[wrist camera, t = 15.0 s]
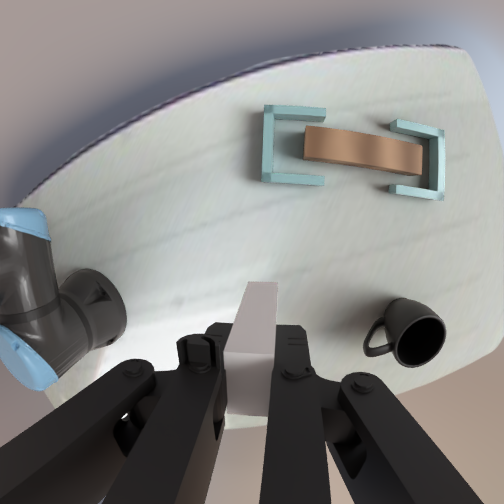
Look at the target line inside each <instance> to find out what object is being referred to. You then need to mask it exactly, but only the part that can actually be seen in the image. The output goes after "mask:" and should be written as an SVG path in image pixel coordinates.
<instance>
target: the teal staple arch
mask: <svg viewBox="0 0 504 504" xmlns="http://www.w3.org/2000/svg"><path fill="white" fill-rule="evenodd" d="M325 117H326V108H317V107H304V106H286V105H264V128H263V154H262V178H261V182H268V183H287V184H303V185H316V186H324V176H315V175H301V174H285V173H273V152H274V124H275V119H288V120H305V121H318V122H324V120H325Z"/></svg>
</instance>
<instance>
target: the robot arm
mask: <svg viewBox="0 0 504 504" xmlns="http://www.w3.org/2000/svg"><path fill="white" fill-rule="evenodd" d="M50 242H51V238H50V237H49V232H48V226H47V219H46V216H45V214H44V213H43V212H42V211H41V210H39V209H36V208H0V359H1V360H2V362H3V363H4V365H5V366H6V367H7V369H8V370H9V371H10V372H11V373H12V375H13V376H14V377H15V378H16V379H17V380H18V381H20V382H21V383H22V384H23V385H25V386H26V387H28V388H29V389H31V390H34V391H43V390H45V389H46V388H48V387H49V386H50V385H52V384H53V383H55V382H57V381H58V379H59V378H60V377H61V376H62V375H63V374H65V373H66V372H67V371H68V370H69V369H70V368H71V367H72V366H73V365H74V364H76V363H77V362H78V361H79V360H80V359H81V358H82V357H84V356H85V355H86V354H87V353H88V352H89V351H91V350H95V349H98V348H102V347H105V346H108V345H111V344H113V343H114V342H115V341H116V340H118V339H119V338H120V337H121V336H122V334H123V333H124V331H125V328H126V323H127V316H126V310H125V306H124V303H123V300H122V298H121V296H120V294H119V292H118V291H117V289H116V288H115V286H114V285H113V284H112V283H111V281H110V280H109V279H108V278H106V277H105V276H104V275H102V274H101V273H99V272H97V271H95V270H91V269H83V270H80V271H78V272H76V273H73V274H72V275H70V276H69V277H68V278H67V279H66V281H65V282H64V283H63V284H62V285H61V287H60V288H59V289H58V285H57V281H56V276H55V270H54V265H53V258H52V251H51V244H50ZM277 292H278V283H276V282H248V284H247V287H246V290H245V292H244V295H243V298H242V301H241V304H240V307H239V309H238V312H237V315H236V318H235V321H234V323H218V322H215V323H214V324H212V325H211V326H209V327H208V328H207V330H206V332H205V334H192V335H187V336H184V337H182V338H180V339H179V340H178V341H177V342H176V343H177V351H178V357H179V366H178V368H177V369H176V370H170V371H154V367H153V365H152V364H151V363H150V362H148V361H146V360H142V359H130V360H126V361H123V362H121V363H119V364H118V365H117V366H115V367H114V368H112V369H111V370H110V371H108V372H107V373H105V374H104V375H103V376H101V377H100V378H99V379H97V380H96V381H94V382H93V383H92V384H90V385H89V386H87V387H86V388H85V389H83V390H82V391H80V392H79V393H78V394H76V395H75V396H73V397H72V398H71V399H69V400H68V401H66V402H65V403H63V404H62V405H61V406H59V407H58V408H56V409H55V410H54V411H52V412H51V413H49V414H48V415H46V416H45V417H44V418H42V419H41V420H39V421H38V422H37V423H35V424H34V425H32V426H31V427H29V428H28V429H27V430H25V431H24V432H22V433H21V434H19V435H18V436H17V437H15V438H14V439H12V440H11V441H10V442H8V443H6V444H5V445H3V446H2V447H0V504H98V503H99V502H100V501H101V500H102V499H103V498H104V497H105V496H106V497H105V499H104V501H103V502H102V504H204V503H205V500H206V496H207V492H208V488H209V484H210V481H211V476H212V473H213V469H214V465H215V461H216V457H217V454H218V450H219V446H220V442H221V438H222V434H223V430H224V426H225V416H224V414H225V410H226V406H227V414H237V415H249V416H266V417H268V423H267V435H266V445H265V455H264V464H263V474H262V483H261V492H260V500H259V504H331V495H330V484H329V473H328V463H327V454H326V445H325V441H326V443H327V446H328V448H329V451H330V453H331V455H332V457H333V459H334V461H335V464H336V466H337V468H338V470H339V472H340V474H341V476H342V478H343V481H344V483H345V485H346V487H347V489H348V491H349V493H350V495H351V497H352V499H353V501H354V503H355V504H484V503H483V502H482V501H481V500H480V498H479V497H478V496H477V495H476V493H475V492H474V491H473V490H472V488H471V487H470V486H469V485H468V483H467V482H466V481H465V480H464V478H463V477H462V476H461V475H460V473H459V472H458V471H457V470H456V469H455V467H454V466H453V465H452V464H451V462H450V461H449V460H448V459H447V458H446V456H445V455H444V454H443V453H442V452H441V450H440V449H439V448H438V447H437V445H436V444H435V443H434V442H433V441H432V440H431V438H430V437H429V436H428V435H427V434H426V432H425V431H424V430H423V429H422V427H421V426H420V425H419V424H418V423H417V421H416V420H415V419H414V418H413V417H412V416H411V414H410V413H409V412H408V411H407V410H406V409H405V407H404V406H403V405H402V404H401V403H400V401H399V400H398V399H397V398H396V397H395V395H394V394H393V393H392V392H391V391H390V390H389V388H388V387H387V386H386V385H385V384H384V383H383V381H382V380H381V379H379V378H378V377H377V376H375V375H373V374H370V373H365V372H355V373H351V374H348V375H346V376H345V377H344V378H343V379H342V381H341V382H336V381H330V380H327V379H324V378H322V377H319V376H318V375H317V374H316V372H315V370H314V368H313V367H312V366H311V362H310V355H309V348H308V341H307V335H306V331H305V330H304V329H303V328H302V327H301V326H300V325H276V317H277ZM126 413H127V414H128V415H127V416H126V417H125V418H123V419H121V418H122V417H123V416H124V415H125V414H126Z"/></svg>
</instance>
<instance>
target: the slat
mask: <svg viewBox="0 0 504 504" xmlns="http://www.w3.org/2000/svg"><path fill="white" fill-rule="evenodd" d="M303 160H308V161H317V162H326V163H334V164H342V165H349V166H356V167H363V168H369V169H375V170H381V171H387V172H392V173H398V174H403V175H408V176H413V175H421V174H422V146H421V145H417V144H413V143H409V142H404V141H400V140H395V139H391V138H386V137H381V136H376V135H370V134H364V133H359V132H352V131H346V130H339V129H331V128H323V127H315V126H306V128H305V133H304V150H303Z"/></svg>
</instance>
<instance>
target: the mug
mask: <svg viewBox="0 0 504 504" xmlns="http://www.w3.org/2000/svg"><path fill="white" fill-rule="evenodd" d="M381 327H385V333H386V338H387V342H388V344H386V345H383V346H379V347H375V348H370V347H369V342H370V340H371V338H372V336H373V335H374V333H375V332H376V331H377V330H378V329H379V328H381ZM445 338H446V327H445V324H444V322H443V320H442V319H441V318H440V317H439V316H438V315H437V314H436V313H435V312H434V311H432V310H431V309H430V308H429V307H427V306H426V305H424V304H421V303H419V302H417V301H414V300H409V299H407V298H399V299H396V300H394V301H393V302H392V303H390V304H389V306H388V307H387V309H386V311H385V314H384V317H382V318H380V319H378V320H377V321H376V322H375V323H374V324H373V326H372V327H371V329H370V331H369V333H368V334H367V336H366V338H365V340H364V343H363V350H364V353H365V355H366V356H367V357H376V356H380V355H383V354H386V353H389V352H391V351H392V353H393V355H394V357H395V359H396V360H397V361H398V363H399V364H401V365H402V366H405V367H408V368H414V367H419V366H422V365H424V364H426V363H428V362H429V361H431V360H432V359H433V358H434V357H435V356H436V355H437V354H438V353H439V351H440V350H441V348H442V347H443V344H444V342H445Z"/></svg>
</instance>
